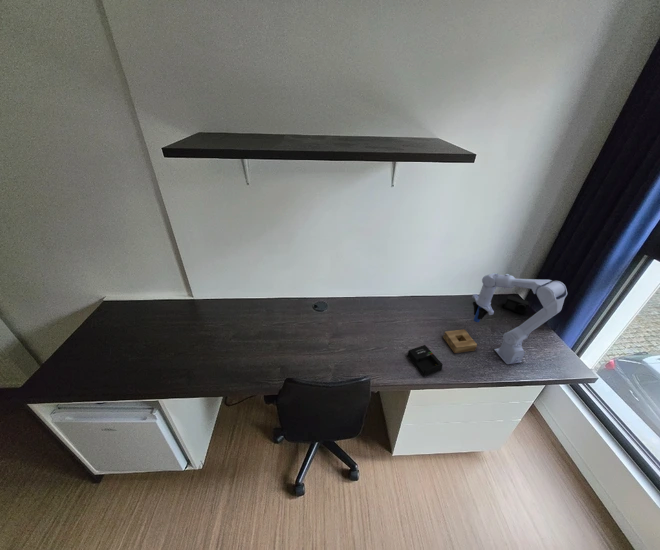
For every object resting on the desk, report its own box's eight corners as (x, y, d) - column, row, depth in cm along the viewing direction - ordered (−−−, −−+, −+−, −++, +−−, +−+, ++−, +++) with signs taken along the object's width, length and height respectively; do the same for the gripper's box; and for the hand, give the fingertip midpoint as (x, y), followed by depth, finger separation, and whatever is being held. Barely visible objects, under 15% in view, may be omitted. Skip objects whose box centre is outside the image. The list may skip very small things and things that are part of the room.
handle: (480, 322, 150) (485, 308, 145) (475, 322, 149) (480, 308, 145) (477, 318, 152) (482, 304, 147) (472, 319, 152) (477, 305, 147)
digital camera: (503, 309, 170) (507, 299, 166) (504, 304, 174) (508, 295, 170) (523, 315, 165) (528, 306, 161) (524, 310, 169) (528, 301, 165)
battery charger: (407, 355, 139) (408, 349, 137) (423, 350, 142) (425, 344, 140) (423, 376, 129) (425, 370, 126) (441, 370, 132) (443, 364, 130)
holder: (475, 350, 142) (477, 344, 140) (454, 353, 140) (456, 347, 138) (462, 334, 151) (464, 329, 149) (443, 337, 150) (444, 331, 147)
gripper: (503, 303, 137) (493, 325, 144) (484, 286, 149) (476, 307, 156) (489, 305, 136) (481, 326, 143) (471, 287, 148) (464, 308, 155)
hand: (477, 316), depth 149 cm, fingers closed on handle, 3 cm apart
